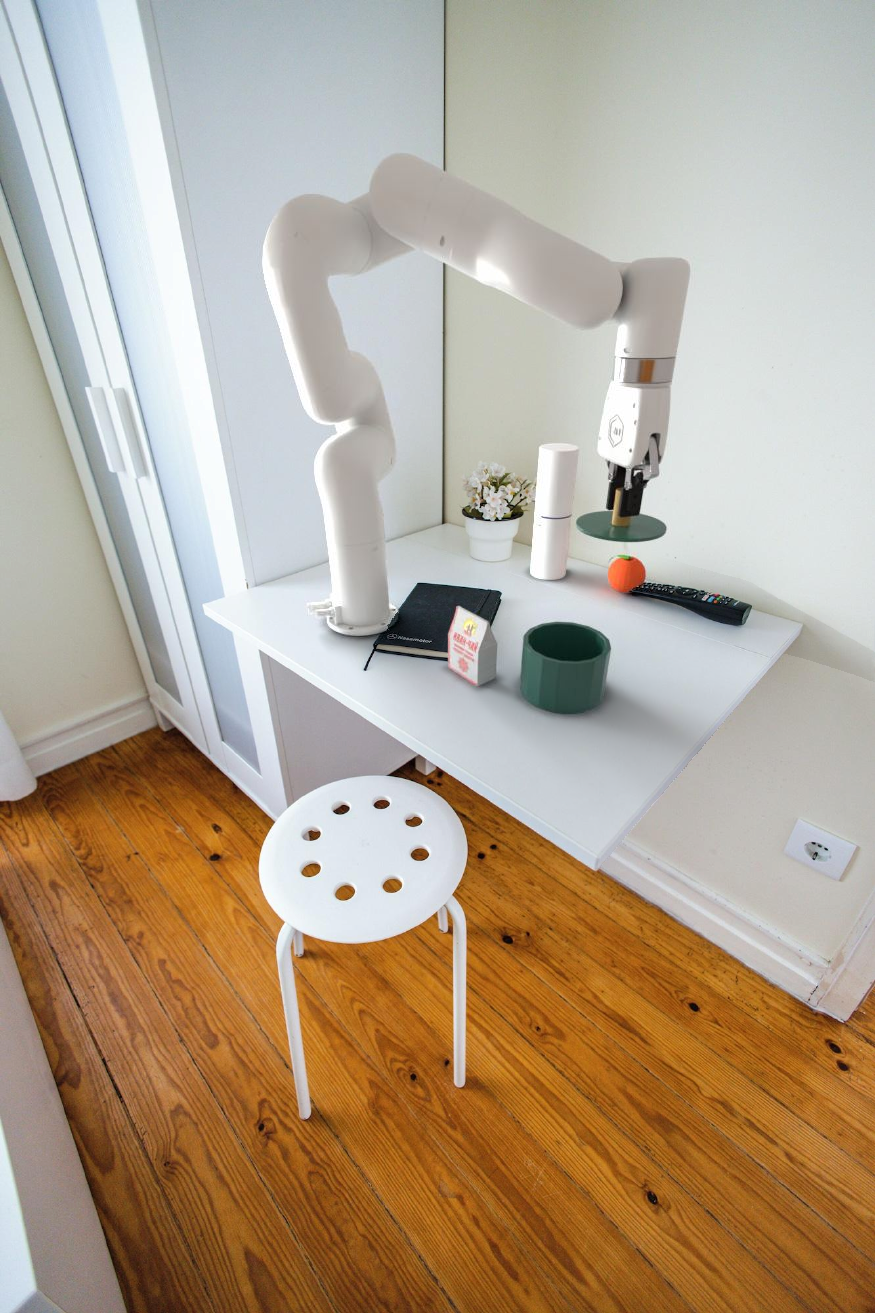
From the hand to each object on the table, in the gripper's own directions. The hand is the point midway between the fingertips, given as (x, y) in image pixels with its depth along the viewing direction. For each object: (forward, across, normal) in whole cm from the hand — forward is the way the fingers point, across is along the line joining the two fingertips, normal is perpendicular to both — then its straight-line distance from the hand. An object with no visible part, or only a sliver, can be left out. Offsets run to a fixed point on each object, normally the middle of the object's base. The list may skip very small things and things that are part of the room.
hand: (622, 511), depth 87 cm
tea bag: (+22, +2, -23) cm, 32 cm away
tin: (+22, +10, -12) cm, 27 cm away
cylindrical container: (+22, -30, +4) cm, 37 cm away
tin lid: (+2, 0, 0) cm, 2 cm away
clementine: (+22, -18, +14) cm, 32 cm away
